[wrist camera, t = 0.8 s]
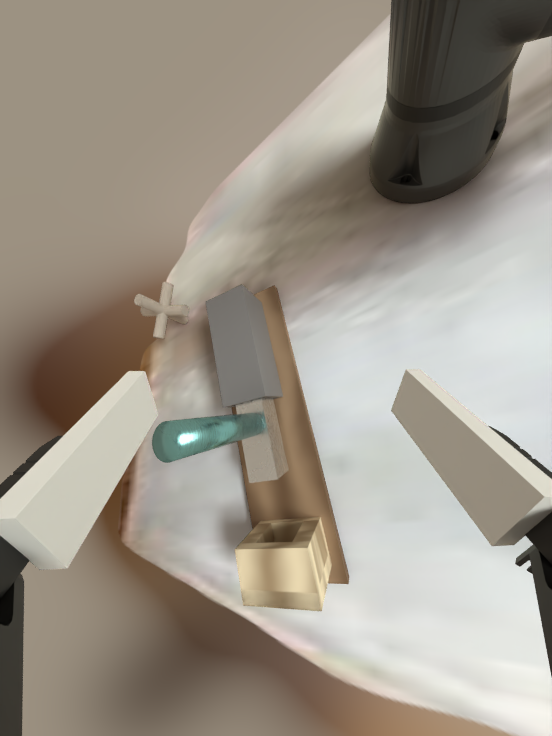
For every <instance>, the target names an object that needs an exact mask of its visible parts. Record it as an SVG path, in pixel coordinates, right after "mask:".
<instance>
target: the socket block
mask: <svg viewBox="0 0 552 736" xmlns="http://www.w3.org/2000/svg"><path fill="white" fill-rule="evenodd" d="M235 554H236V561H237V567H238V574H239V580H240V587H241V593H242V600H243V605H244V606H257V607H271V608H284V609H298V610H312V611H322V607H323V602H324V598H325V593H326V589H327V584H328V580H329V575H330V571H331V566H332V564H331V559H330V555H329V551H328V547H327V543H326V538H325V534H324V530H323V526H322V522H321V517H313V518H298V519H284V520H269V521H260V522H259V523H258V524H257V525H256V527H255V528H254V529H253V530H252V531H251V532H250V533H249V534H248V535H247V537H246V538H245V539H244V540H243V541H242V542H241V543H240V544H239V545H238V547H237V548H236V549H235Z"/></svg>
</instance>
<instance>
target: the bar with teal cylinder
mask: <svg viewBox="0 0 552 736" xmlns="http://www.w3.org/2000/svg"><path fill="white" fill-rule="evenodd" d="M235 406H236V411H237V414H234V415H224V416H214V417H204V418H194V419H184V420H174V421H165V422H162V423H161V424H159V425H158V427H157V428H156V430H155V432H154V434H153V439H152V446H153V450H154V453H155V455H156V457H157V458H158V459H159V460H160V461H162V462H166V463H168V462H172V461H175V460H178V459H182V458H185V457H188V456H191V455H195V454H198V453H201V452H204V451H208V450H211V449H214V448H217V447H221V446H224V445H227V444H230V443H234V442H237V441H240V440H242V445H243V451H244V456H245V462H246V468H247V473H248V479H249V483H255V482H262V481H270V480H277V479H279V478H280V477H281V476H282V475H284V474H285V473H286V472H287V471H288V470H289V469H288V465H287V460H286V456H285V451H284V446H283V442H282V437H281V433H280V428H279V424H278V419H277V414H276V410H275V405H274V401H273V398H266V397H262V398H259V399H255V400H251V401H248V402H244V403H240V404H237V405H235Z"/></svg>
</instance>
